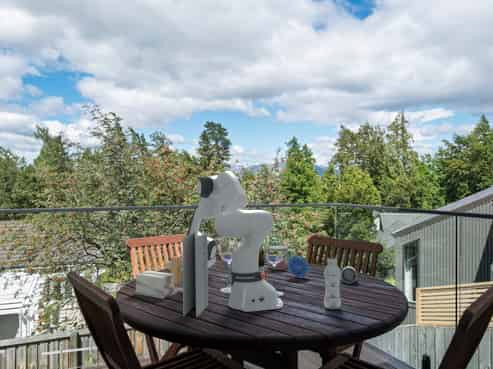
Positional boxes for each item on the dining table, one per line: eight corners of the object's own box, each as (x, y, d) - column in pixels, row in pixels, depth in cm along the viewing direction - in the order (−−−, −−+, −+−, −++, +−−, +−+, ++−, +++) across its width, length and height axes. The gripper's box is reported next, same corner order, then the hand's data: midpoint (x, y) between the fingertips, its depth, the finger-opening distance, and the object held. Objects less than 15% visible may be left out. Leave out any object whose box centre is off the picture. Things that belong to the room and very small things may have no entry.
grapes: (287, 279, 208) (286, 256, 208) (286, 276, 215) (286, 254, 215) (309, 280, 207) (309, 256, 207) (308, 276, 214) (308, 254, 214)
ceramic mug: (356, 279, 207) (356, 264, 207) (356, 283, 199) (356, 268, 199) (335, 279, 210) (335, 264, 210) (334, 283, 202) (334, 267, 202)
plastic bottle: (322, 306, 164) (322, 257, 164) (339, 306, 164) (339, 256, 164) (325, 311, 158) (324, 260, 157) (342, 311, 157) (342, 260, 157)
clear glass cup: (283, 270, 231) (283, 249, 231) (265, 268, 236) (265, 247, 236) (290, 266, 241) (290, 246, 241) (272, 264, 246) (272, 245, 246)
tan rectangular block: (175, 282, 201) (175, 256, 200) (182, 283, 199) (181, 256, 198) (170, 283, 197) (170, 257, 197) (177, 284, 195) (176, 257, 195)
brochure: (197, 316, 153) (196, 237, 152) (183, 316, 154) (182, 237, 153) (208, 305, 167) (207, 232, 166) (195, 304, 168) (194, 232, 167)
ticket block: (167, 282, 205) (167, 264, 205) (194, 286, 196) (194, 268, 196) (134, 293, 186) (134, 274, 185) (162, 298, 177) (162, 278, 177)
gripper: (177, 256, 214) (159, 260, 202) (208, 259, 204) (191, 264, 192) (177, 268, 214) (159, 273, 202) (208, 272, 204) (191, 277, 192)
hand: (175, 269), depth 197 cm, fingers closed on tan rectangular block, 4 cm apart
